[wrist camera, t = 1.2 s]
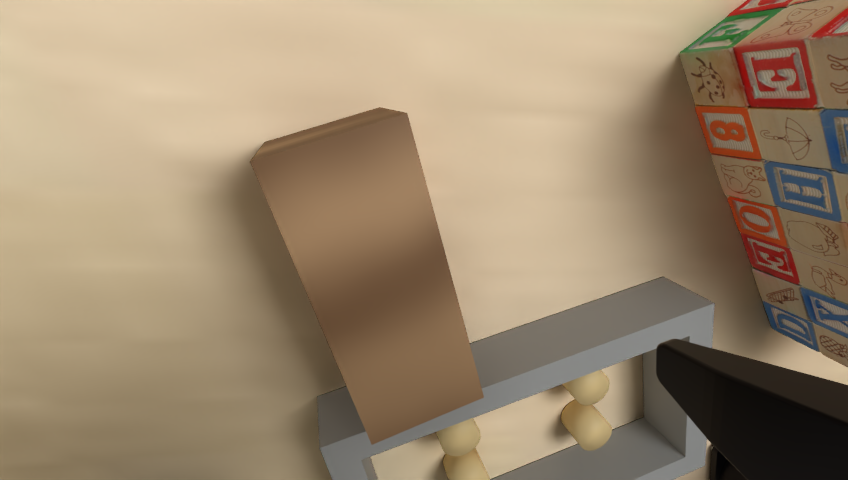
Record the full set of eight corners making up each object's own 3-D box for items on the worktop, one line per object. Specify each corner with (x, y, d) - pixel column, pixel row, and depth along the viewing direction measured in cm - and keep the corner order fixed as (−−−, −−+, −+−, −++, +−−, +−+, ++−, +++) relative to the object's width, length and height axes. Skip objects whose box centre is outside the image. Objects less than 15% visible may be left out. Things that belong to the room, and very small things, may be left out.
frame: (662, 425, 30) (705, 465, 27) (374, 545, 27) (384, 607, 23) (663, 276, 26) (714, 303, 22) (317, 396, 22) (319, 448, 19)
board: (444, 330, 23) (484, 397, 18) (356, 365, 22) (371, 444, 17) (378, 107, 19) (406, 113, 14) (265, 141, 18) (249, 161, 13)
